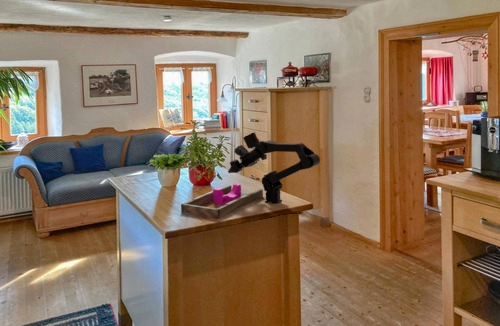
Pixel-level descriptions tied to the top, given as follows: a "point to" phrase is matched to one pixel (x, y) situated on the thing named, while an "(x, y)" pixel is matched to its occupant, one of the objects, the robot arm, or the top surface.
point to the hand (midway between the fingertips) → (233, 169)
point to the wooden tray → (197, 209)
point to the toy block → (223, 199)
